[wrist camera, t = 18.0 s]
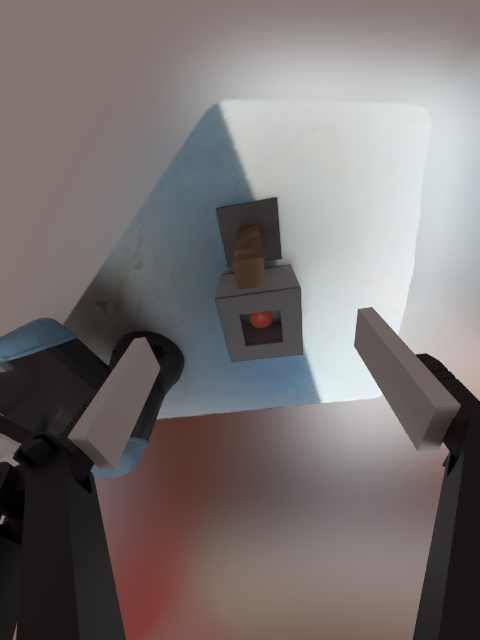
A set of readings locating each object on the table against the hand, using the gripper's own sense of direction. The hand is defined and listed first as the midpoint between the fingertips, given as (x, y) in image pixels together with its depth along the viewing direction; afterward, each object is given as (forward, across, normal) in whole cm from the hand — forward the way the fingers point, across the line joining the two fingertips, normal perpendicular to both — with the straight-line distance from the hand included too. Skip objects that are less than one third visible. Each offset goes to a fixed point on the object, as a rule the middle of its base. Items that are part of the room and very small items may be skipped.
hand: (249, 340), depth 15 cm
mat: (+27, 0, 0) cm, 27 cm away
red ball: (+25, 0, -12) cm, 27 cm away
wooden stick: (+26, 0, 0) cm, 26 cm away
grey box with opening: (+27, 0, -12) cm, 29 cm away
